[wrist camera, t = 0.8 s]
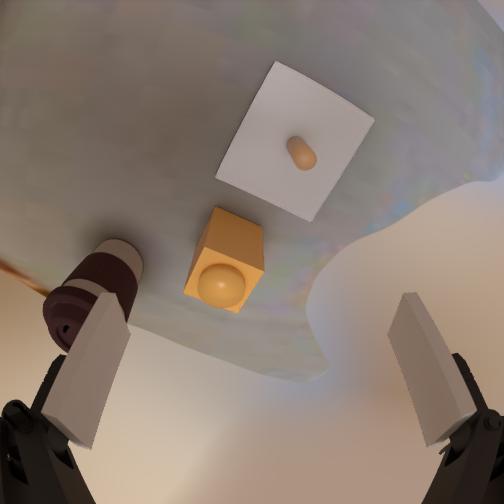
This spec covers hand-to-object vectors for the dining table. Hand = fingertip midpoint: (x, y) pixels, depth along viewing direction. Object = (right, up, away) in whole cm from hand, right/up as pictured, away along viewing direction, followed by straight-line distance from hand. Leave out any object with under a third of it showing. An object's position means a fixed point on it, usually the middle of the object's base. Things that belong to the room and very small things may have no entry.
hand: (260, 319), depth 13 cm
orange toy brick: (-3, +5, +23) cm, 24 cm away
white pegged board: (+4, +14, +17) cm, 23 cm away
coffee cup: (-18, +2, +25) cm, 31 cm away
